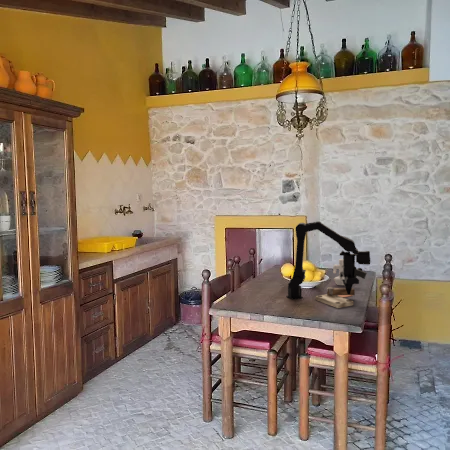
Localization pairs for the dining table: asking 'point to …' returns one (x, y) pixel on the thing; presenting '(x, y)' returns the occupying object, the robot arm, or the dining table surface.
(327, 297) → the birch seat
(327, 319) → the dining table surface
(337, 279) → the figurine
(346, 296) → the marker strip
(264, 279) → the dining table surface
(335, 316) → the dining table surface
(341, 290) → the walnut leg
